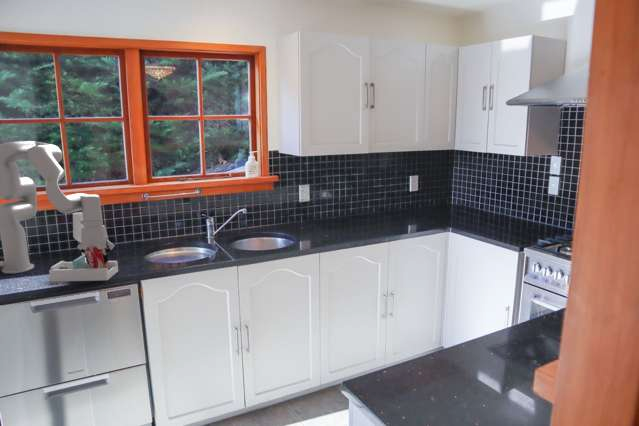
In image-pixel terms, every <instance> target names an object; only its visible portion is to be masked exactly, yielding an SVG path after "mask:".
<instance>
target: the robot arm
mask: <svg viewBox="0 0 639 426" xmlns="http://www.w3.org/2000/svg"><path fill="white" fill-rule="evenodd" d="M62 159H63V152H62V150H61V149H60V148H59V146H58V145H55V144H52V143H46V142H41V141H37V140H36V141H35V140H21V141H20V140H19V141H8V142H7V141H6V142H2V143H0V199H1V200H4V201H7V202H5V203H1V204H0V239H1V240H0V241H1V246H2V252H3V253H2V254H3V260H4V261H3V260H1V261H0V267H2V268H1V272H2V274H7V275H9V274H10V275H13V274H21V273H24V272H29V271H31V270H33V269H34V268H35V264H34V263H31V262H30V256H29V248H28V242H27V235H26V230H25V228H24V226H23V225H22V224H21V223H20V222H23V221H26V220H30V219H32V218H34V217H35V216H36V215H37V212H38V201H37V199H38V197H37V194H38V193H37V188H36V187H37V186H36V184H35V182H34V180H33V179H32V178H30V177H28V176H20V168H19V166H18V164H17V163H16V162H22V161H25V162H26V161H29V163H31V165H32V166H33V168H34V169H35V170H36V171H37V172H38V173H39V175H40V176H41V177H42V178H43V180H44V181H45V193H46V197H47V199H48V201H49V202H50V203H51V204H52V206H53V207H54V208H55V209H56V210H57V212H60V213H62V214H66V215H67V214H73V213H77V212H82V215H83V221H80V224H83V226H84V227H82V230H81V242H79V244H78V245H76V246H77V249H78V250H79V251H80V253H81V254H82V253H84V255H85V258H86V262H87V264H89V263H88V259H87V255H86V249H87V248H86V247H95V246H97V248H98V249H99V250H102V252H103V254H104V255H103V259H104V264H106V263H107V262H108V261H110V260H109V253H110V252H111V251H112V250H113V249H114V247H115V244H114V243H113V242H111V241H110V240H109V236H108V231H107V228H106V225H105V224H104V221H103V214H102V213H103V212H102V211H103V209H102V205H101V204H102V201H101V197H100V195H99V194H95V193H94V194H93V193H92V194H88V193H83V192H77V193H73V194H66V195H65V194H64V193H63V191H62V190H61V189H60V186H59V182H60V181H61V180H63V178H64V176H65V175H66V171H65V169H63V168H62V166H61V165H60V164H59V163H60V162H62ZM16 199H17V200H16ZM11 200H14V201H11ZM8 201H9V202H8Z"/></svg>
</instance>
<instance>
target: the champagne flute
mask: <svg viewBox="0 0 639 426" xmlns="http://www.w3.org/2000/svg"><path fill="white" fill-rule="evenodd" d="M80 221H83V215H82V211H77V212H72V233H73V235H72V237H73V238H74V240H75V241H77V242H78V243H81V230H82V227H84V226H83V224H80ZM81 256H85V255H84V253H82V252H81ZM85 262H86V256H85Z"/></svg>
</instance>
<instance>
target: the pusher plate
mask: <svg viewBox="0 0 639 426" xmlns="http://www.w3.org/2000/svg"><path fill="white" fill-rule="evenodd" d="M85 258H86V256H82V255H80V256H79V257H77V258H76V259H74V260H72V261H71V262H73V269H86V262H85Z"/></svg>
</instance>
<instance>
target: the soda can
mask: <svg viewBox="0 0 639 426" xmlns="http://www.w3.org/2000/svg"><path fill="white" fill-rule="evenodd" d="M86 248H87V249H86V255H87V259H88V263H89V267H90V268H108V265H107V263H106V264H104V259H103V255H104V254H103V252H102V250H99V249H98V248H97V246H95V247H86Z"/></svg>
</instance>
